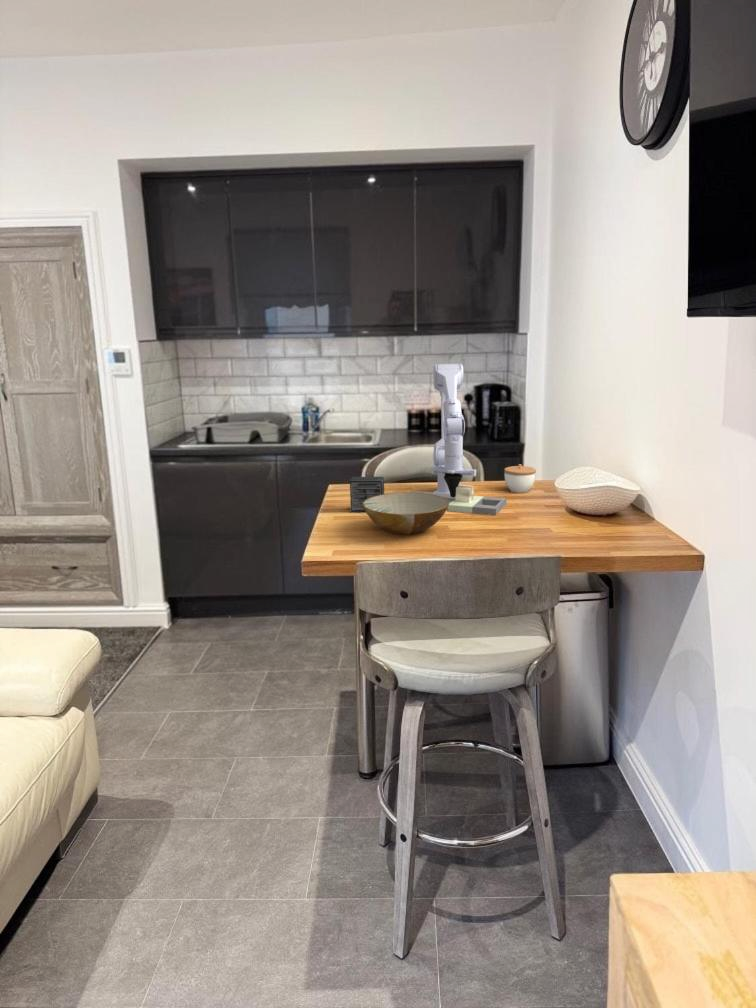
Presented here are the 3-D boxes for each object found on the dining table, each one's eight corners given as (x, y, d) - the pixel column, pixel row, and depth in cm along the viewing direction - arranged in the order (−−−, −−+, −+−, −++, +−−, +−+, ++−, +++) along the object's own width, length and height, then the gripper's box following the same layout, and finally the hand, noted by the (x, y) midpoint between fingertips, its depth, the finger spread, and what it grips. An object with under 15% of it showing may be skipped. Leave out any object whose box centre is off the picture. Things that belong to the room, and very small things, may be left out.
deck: (413, 496, 247) (413, 490, 247) (506, 504, 235) (506, 498, 235) (399, 506, 235) (398, 500, 234) (495, 515, 223) (496, 508, 222)
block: (459, 498, 236) (460, 484, 235) (473, 499, 234) (473, 485, 233) (455, 501, 232) (455, 487, 231) (469, 502, 230) (469, 488, 229)
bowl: (459, 538, 200) (459, 511, 198) (369, 545, 196) (369, 516, 194) (437, 515, 224) (437, 490, 222) (357, 520, 220) (356, 494, 218)
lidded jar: (497, 489, 256) (498, 463, 253) (522, 485, 260) (523, 460, 258) (515, 495, 246) (516, 468, 244) (541, 492, 251) (542, 465, 248)
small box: (385, 507, 234) (384, 475, 232) (383, 512, 228) (382, 480, 225) (352, 507, 235) (352, 475, 233) (350, 512, 229) (349, 480, 227)
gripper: (427, 456, 230) (427, 497, 234) (472, 458, 225) (471, 501, 228) (435, 452, 236) (434, 492, 240) (478, 454, 231) (477, 496, 234)
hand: (453, 496), depth 234 cm, fingers closed
